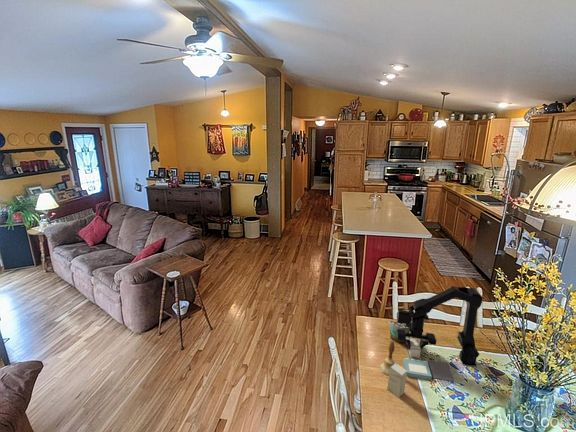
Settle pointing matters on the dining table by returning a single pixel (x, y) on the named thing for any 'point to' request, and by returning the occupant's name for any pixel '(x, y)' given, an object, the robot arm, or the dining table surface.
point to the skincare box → (397, 379)
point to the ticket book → (417, 368)
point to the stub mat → (441, 370)
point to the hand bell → (388, 360)
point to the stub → (414, 348)
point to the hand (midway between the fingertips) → (413, 350)
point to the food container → (394, 327)
